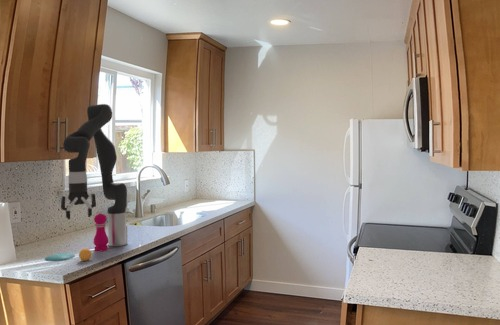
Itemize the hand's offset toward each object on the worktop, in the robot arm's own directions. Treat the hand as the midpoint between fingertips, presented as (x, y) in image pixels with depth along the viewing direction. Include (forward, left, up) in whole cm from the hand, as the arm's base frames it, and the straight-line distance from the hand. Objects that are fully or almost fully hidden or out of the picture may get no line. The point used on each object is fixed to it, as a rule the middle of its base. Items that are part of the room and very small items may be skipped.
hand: (79, 218), depth 183 cm
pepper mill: (-24, -10, -21) cm, 33 cm away
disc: (-6, -19, -21) cm, 29 cm away
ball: (-6, -3, -18) cm, 19 cm away
